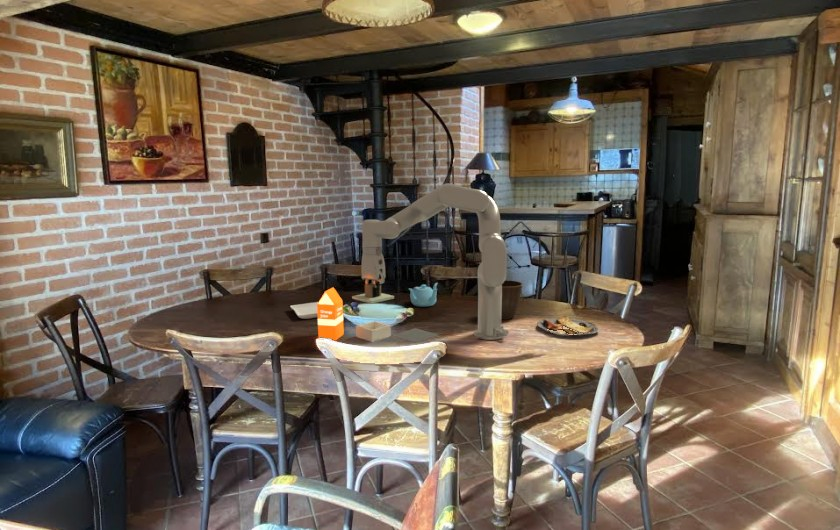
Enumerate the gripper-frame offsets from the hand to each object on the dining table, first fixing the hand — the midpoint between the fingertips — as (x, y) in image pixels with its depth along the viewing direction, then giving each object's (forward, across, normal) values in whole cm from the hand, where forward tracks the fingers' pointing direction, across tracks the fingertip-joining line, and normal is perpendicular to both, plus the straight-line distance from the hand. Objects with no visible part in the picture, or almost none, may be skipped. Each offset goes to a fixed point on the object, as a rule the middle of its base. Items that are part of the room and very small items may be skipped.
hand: (373, 295), depth 210 cm
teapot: (+18, +23, -54) cm, 61 cm away
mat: (+17, -11, -13) cm, 24 cm away
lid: (+1, 0, 0) cm, 1 cm away
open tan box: (+18, 0, 0) cm, 18 cm away
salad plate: (+18, +50, -6) cm, 54 cm away
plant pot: (+17, -21, -62) cm, 68 cm away
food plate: (+18, -52, -63) cm, 83 cm away
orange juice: (+18, +14, +11) cm, 25 cm away
